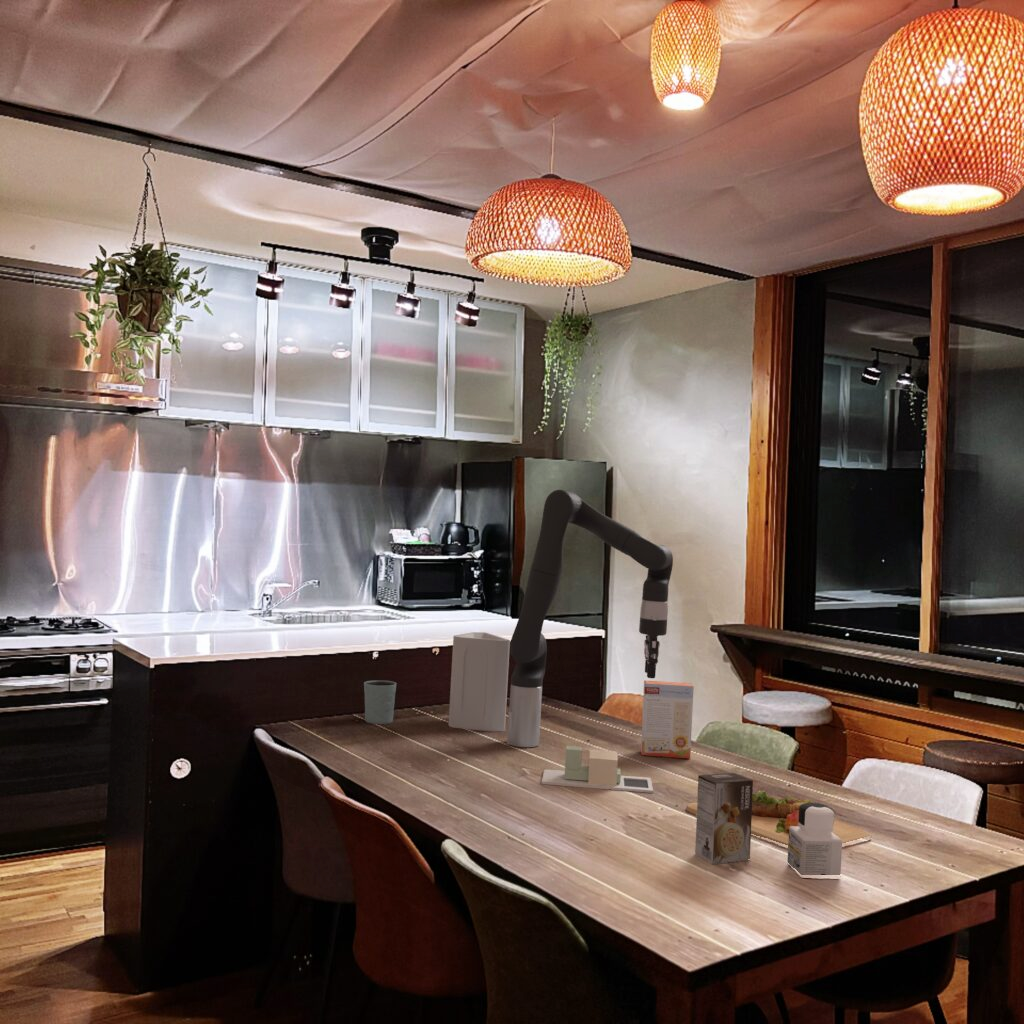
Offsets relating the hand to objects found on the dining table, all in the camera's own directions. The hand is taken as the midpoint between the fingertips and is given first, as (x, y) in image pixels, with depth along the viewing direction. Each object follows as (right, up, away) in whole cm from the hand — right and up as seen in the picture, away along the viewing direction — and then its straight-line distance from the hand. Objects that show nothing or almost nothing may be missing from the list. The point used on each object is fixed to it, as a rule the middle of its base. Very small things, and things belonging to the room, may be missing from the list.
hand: (649, 675), depth 266 cm
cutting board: (+21, -26, -49) cm, 60 cm away
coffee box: (+4, -24, -74) cm, 78 cm away
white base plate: (-17, -23, -23) cm, 36 cm away
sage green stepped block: (-18, -22, -22) cm, 36 cm away
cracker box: (+6, -25, +10) cm, 28 cm away
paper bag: (-51, -22, +36) cm, 66 cm away
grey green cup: (-80, -20, +35) cm, 90 cm away
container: (+20, -25, -79) cm, 86 cm away
